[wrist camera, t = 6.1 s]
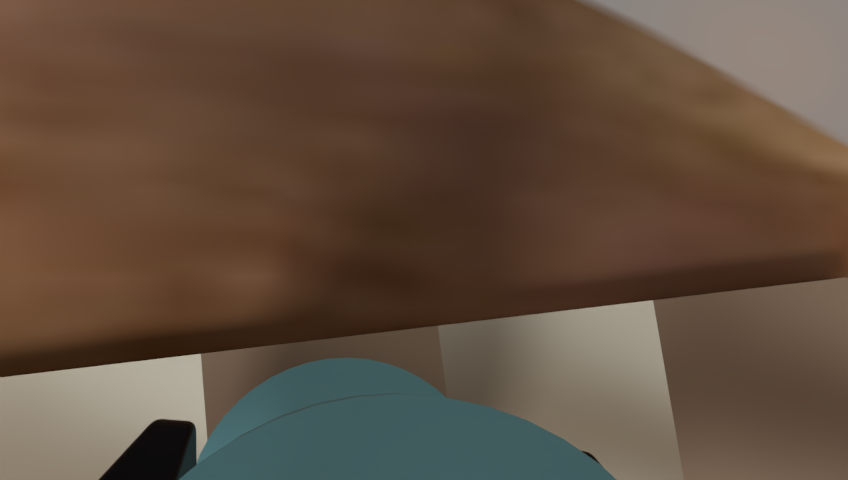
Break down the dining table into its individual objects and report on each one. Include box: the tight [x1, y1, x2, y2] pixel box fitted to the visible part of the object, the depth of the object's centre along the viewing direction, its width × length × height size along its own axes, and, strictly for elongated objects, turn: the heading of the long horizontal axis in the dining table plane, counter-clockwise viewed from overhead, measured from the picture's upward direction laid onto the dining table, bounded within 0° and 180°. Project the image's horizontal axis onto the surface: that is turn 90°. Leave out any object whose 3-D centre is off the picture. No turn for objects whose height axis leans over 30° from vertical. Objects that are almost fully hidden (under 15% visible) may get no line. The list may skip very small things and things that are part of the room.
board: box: [0, 277, 848, 480], centre depth 16 cm, size 6×20×1 cm, turn 97°
